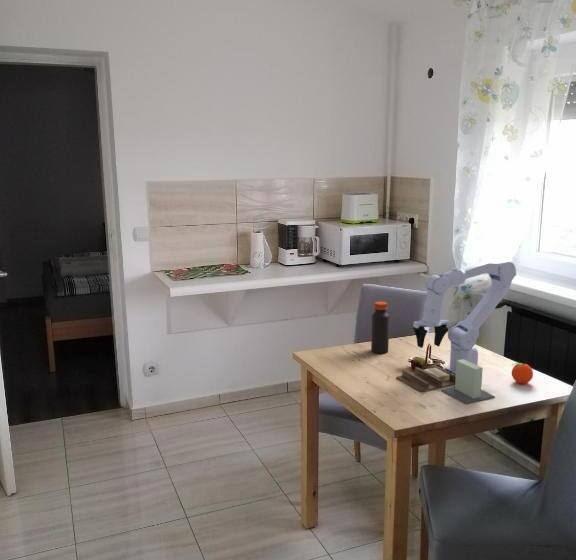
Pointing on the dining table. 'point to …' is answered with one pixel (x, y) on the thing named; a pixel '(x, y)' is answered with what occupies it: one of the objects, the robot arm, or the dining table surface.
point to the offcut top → (437, 373)
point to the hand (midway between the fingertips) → (428, 346)
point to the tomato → (522, 373)
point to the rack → (425, 379)
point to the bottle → (380, 329)
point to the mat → (464, 397)
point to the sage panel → (468, 378)
